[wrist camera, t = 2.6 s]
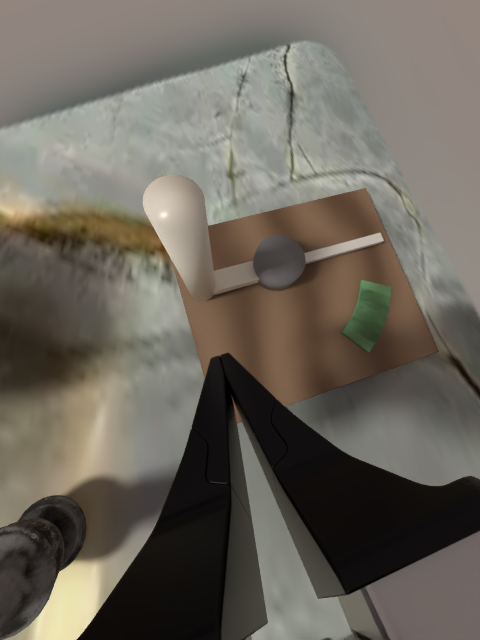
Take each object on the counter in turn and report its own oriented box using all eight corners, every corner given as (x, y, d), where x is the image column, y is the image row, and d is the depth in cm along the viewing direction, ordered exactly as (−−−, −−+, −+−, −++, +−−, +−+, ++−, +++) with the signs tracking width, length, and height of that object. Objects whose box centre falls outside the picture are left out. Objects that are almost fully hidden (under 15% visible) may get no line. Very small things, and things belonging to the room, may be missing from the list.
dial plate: (219, 426, 19) (219, 430, 17) (167, 241, 21) (164, 235, 20) (428, 351, 21) (440, 351, 20) (360, 195, 24) (367, 186, 23)
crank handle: (196, 315, 19) (157, 258, 8) (183, 269, 19) (131, 160, 9) (386, 260, 21) (556, 158, 10) (369, 220, 22) (511, 85, 11)
